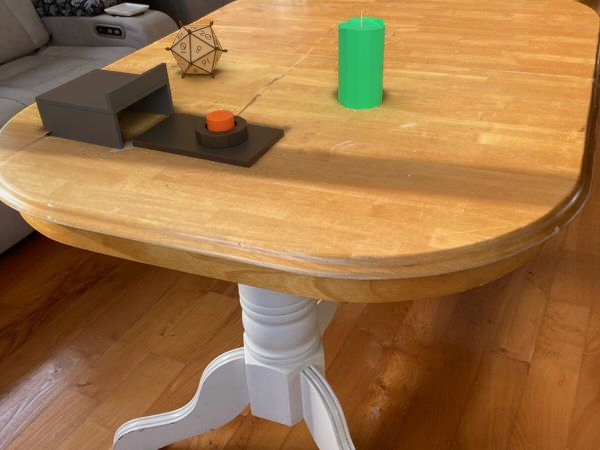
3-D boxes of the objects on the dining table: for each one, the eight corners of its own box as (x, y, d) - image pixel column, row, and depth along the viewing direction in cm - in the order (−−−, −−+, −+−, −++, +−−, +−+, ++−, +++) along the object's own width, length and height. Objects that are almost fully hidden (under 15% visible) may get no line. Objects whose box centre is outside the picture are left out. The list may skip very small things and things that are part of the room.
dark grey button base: (132, 146, 71) (128, 127, 69) (175, 118, 77) (172, 100, 76) (249, 168, 65) (247, 148, 63) (284, 136, 71) (283, 116, 70)
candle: (371, 90, 83) (374, 2, 76) (389, 105, 78) (394, 13, 71) (331, 97, 81) (331, 8, 75) (347, 112, 77) (348, 19, 70)
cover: (45, 135, 74) (29, 81, 70) (104, 103, 83) (92, 53, 79) (121, 150, 70) (108, 93, 66) (174, 115, 78) (166, 62, 74)
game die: (213, 94, 94) (244, 39, 92) (198, 94, 86) (232, 33, 84) (166, 64, 94) (195, 8, 92) (146, 61, 86) (178, -1, 83)
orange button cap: (202, 130, 68) (200, 118, 68) (216, 120, 71) (215, 108, 70) (226, 134, 67) (224, 122, 66) (239, 124, 70) (238, 112, 69)
